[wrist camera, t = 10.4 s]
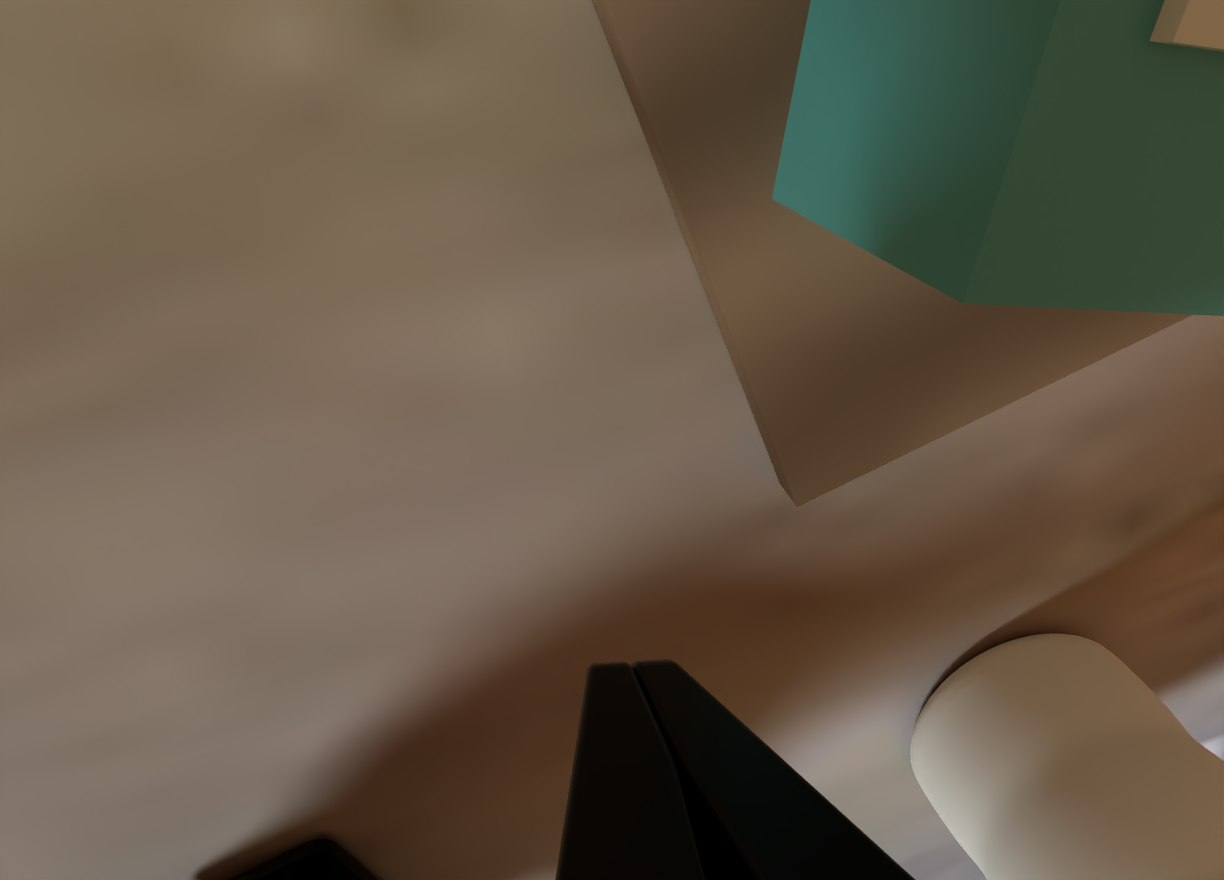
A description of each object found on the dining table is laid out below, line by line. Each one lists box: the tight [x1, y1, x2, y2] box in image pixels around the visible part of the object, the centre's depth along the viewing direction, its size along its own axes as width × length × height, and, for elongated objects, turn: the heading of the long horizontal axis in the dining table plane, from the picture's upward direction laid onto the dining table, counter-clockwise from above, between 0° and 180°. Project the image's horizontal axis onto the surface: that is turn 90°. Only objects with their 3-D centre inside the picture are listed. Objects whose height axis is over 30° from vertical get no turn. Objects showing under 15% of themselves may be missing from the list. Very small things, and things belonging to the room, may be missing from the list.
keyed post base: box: [592, 0, 1193, 506], centre depth 12 cm, size 16×12×5 cm
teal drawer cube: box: [772, 0, 1224, 316], centre depth 11 cm, size 6×6×6 cm
